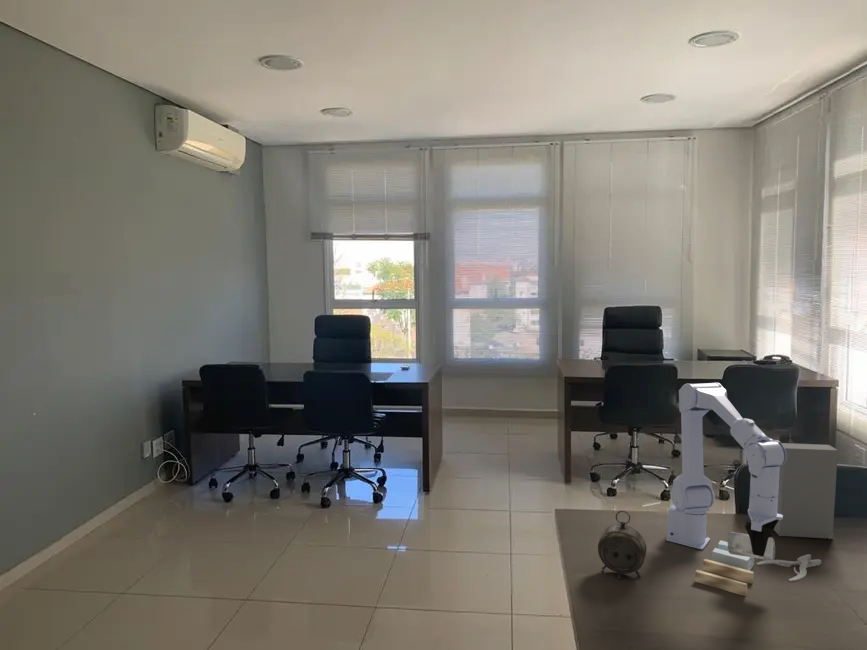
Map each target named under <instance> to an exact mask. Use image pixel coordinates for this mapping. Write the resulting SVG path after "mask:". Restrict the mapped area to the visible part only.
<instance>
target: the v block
mask: <svg viewBox="0 0 867 650" xmlns="http://www.w3.org/2000/svg"><path fill="white" fill-rule="evenodd" d="M711 552H712V553H711V560H712V561H715V562H719V563H723V564H727V565H730V566H734V567H738V568H742V569H745V570H749V571H752V568H753V567H754V565H755V558H753V557H746V556H740V555H734V554H730V553H729V551H728V541H725V540H719V542H718V543H717V547H714V549H713V550H712V551H711Z"/></svg>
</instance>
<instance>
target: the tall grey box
mask: <svg viewBox="0 0 867 650" xmlns="http://www.w3.org/2000/svg"><path fill="white" fill-rule="evenodd" d="M781 444H782V445H783V446H784V448H785V450H786V454H787V459H786V462H785V464H784V465H782V466H780V471H779V489H778V506H777V513H778V514H781V515H783V519H782V520H779V521H778V523H777V524H776V525H775V528H774V530H773V532H775V533H776V534H777V535H778V536H779V537H797V538H798V537H799V538H816V539H827V538H828V539H827V540H831V539H832V540H833V539H834V535H835V534H834V518H835V506H836V504H835V503H836V502H835V501H836V490H837V488H836V485H837V471H838V470H837V469H838V468H837V467H838V454H839V452H838V451H839V450H838V449H837V448H835V447H833V446H831V444H817V443H816V444H814V443H813V444H812V443H793V442H792V443H789V442H788V443H787V442H786V443H785V442H781Z"/></svg>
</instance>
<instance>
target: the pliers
mask: <svg viewBox="0 0 867 650" xmlns="http://www.w3.org/2000/svg"><path fill="white" fill-rule="evenodd" d="M772 564H773V565H778V566H782V567H787V568H788V567H791V566H794V565H795V566H798V565H799V572H798V571H797V570H796V567H793V571H794V573H795V574H796V576H793V577H792V578H789V579H788V582H789V583H792V582H796V581H797V582H799V581H800V580H801V581H802V579H804V578H805V577H806V576H807V574H808V572H807V569H808V568H811V567H812V566H813V567H817V566H821V565H822V559H820V558H815V559H812V554H805V555H802V556H799V557H798V558H797V560H795V561H793V560H785V559H774V560H773V561H771V560H765V559H764V560H761V561H758V562H756V564H755V565H757V566H762V565H772ZM820 564H821V565H820ZM816 565H817V566H816ZM813 567H812V568H813ZM806 568H807V569H806Z"/></svg>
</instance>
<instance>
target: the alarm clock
mask: <svg viewBox="0 0 867 650" xmlns="http://www.w3.org/2000/svg"><path fill="white" fill-rule="evenodd" d="M620 513H625V514H626V515H627V516H628V521H627V522H625V521H619V520H618V515H619V514H620ZM615 519H616V522H617V523H619V524H613V525H610V526H608V527H606V528H605V529H604V530H603V531H602V532H601V534H600V535H601V536H600V538H599V541H598V544H597V545H598V546H597V552H598V556H599V559H600V561H601V562H602V563H603V565H604V566H603V567H601V569H602V570H605V569H606V568H608V569H609V570H611V571H612V572H614V573H616V574H617V579H618V580H620V579H621V578H622V575H629V574H630V575H631V574H633V573H635V574H636V575H637V577H638V578H641V574H640V573H639V570H640V569H641V568H642V567H643V565H644V563H645V559H646V555H647V544H646V541H645V539H644V538H643V537H644V536H642V534H641V533H640V532H639V531H638V530H637V529H635V528H633V527H632V526H630V525H627V524H628V523H630V521H631V515H630V513H628V512H627V511H626V510H619V511H617V513H615Z"/></svg>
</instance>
